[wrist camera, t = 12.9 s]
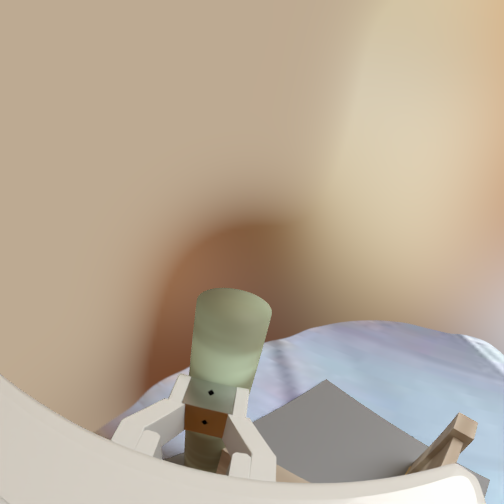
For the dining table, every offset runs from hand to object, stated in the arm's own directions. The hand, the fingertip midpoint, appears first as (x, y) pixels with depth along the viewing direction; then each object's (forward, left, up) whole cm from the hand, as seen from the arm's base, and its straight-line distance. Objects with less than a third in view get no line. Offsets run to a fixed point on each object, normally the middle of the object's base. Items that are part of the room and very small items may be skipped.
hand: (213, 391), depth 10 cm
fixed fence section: (-13, -12, -12) cm, 21 cm away
